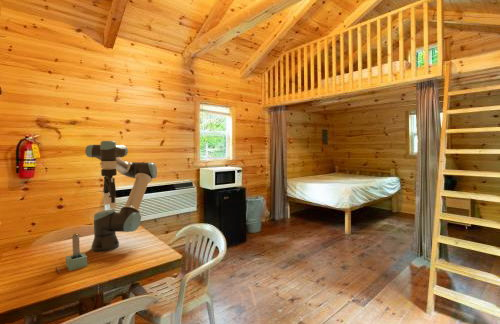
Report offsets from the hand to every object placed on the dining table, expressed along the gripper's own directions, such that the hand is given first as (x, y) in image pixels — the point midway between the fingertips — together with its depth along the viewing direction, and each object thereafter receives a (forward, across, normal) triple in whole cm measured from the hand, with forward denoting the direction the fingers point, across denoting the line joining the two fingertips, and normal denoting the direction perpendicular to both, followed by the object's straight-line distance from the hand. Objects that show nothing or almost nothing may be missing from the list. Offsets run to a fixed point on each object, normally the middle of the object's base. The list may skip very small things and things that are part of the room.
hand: (109, 206), depth 147 cm
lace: (+30, 0, -24) cm, 38 cm away
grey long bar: (+30, -1, -16) cm, 34 cm away
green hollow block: (+30, -1, -16) cm, 34 cm away
